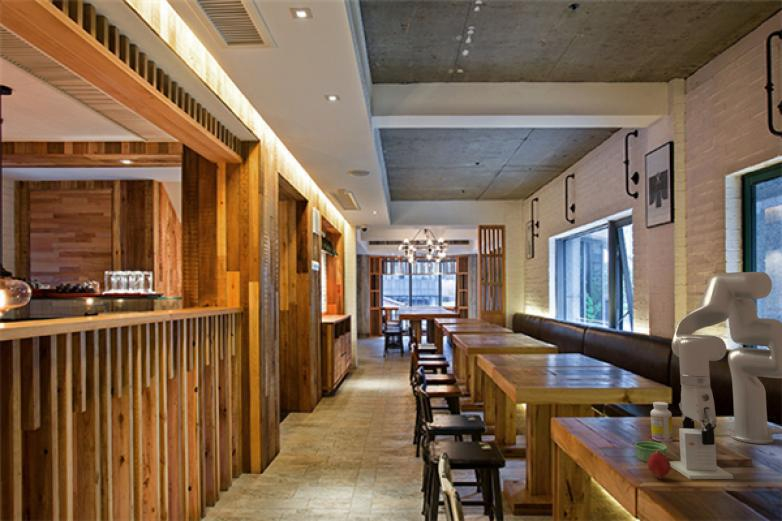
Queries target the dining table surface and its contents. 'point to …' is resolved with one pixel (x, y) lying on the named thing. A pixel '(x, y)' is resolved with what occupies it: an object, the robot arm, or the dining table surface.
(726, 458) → the holder block
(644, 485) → the dining table surface
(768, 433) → the robot arm
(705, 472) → the cream square tile
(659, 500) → the dining table surface
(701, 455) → the small box
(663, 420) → the supplement bottle
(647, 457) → the ramekin
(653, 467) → the onion
